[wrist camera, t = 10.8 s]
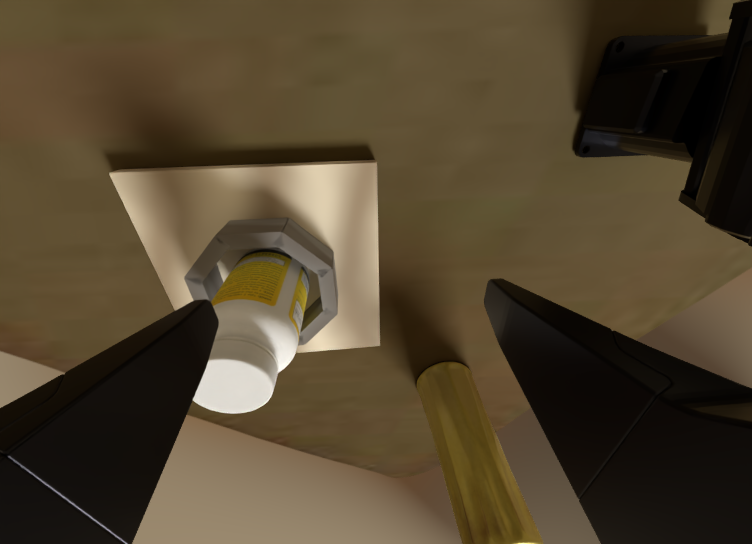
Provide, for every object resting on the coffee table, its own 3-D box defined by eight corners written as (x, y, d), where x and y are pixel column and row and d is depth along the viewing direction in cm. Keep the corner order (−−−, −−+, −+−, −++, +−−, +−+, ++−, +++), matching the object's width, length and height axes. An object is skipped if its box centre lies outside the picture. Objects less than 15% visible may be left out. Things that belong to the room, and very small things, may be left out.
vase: (456, 400, 33) (520, 572, 21) (407, 394, 32) (446, 575, 20) (480, 364, 31) (570, 539, 18) (428, 356, 29) (489, 540, 17)
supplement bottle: (219, 272, 21) (136, 386, 13) (272, 229, 20) (218, 324, 11) (275, 316, 24) (236, 435, 15) (325, 280, 22) (313, 389, 14)
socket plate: (375, 159, 19) (381, 170, 16) (378, 338, 27) (383, 367, 24) (119, 169, 18) (74, 183, 15) (204, 352, 26) (186, 384, 23)
